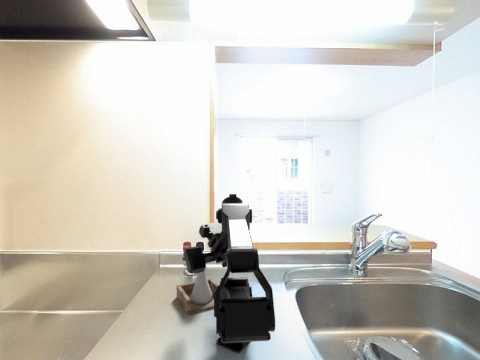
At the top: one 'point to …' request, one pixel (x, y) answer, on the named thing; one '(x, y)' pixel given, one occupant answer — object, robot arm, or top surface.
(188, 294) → the wooden tray
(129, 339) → the top surface
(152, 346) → the top surface
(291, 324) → the top surface
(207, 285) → the flask
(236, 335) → the robot arm
